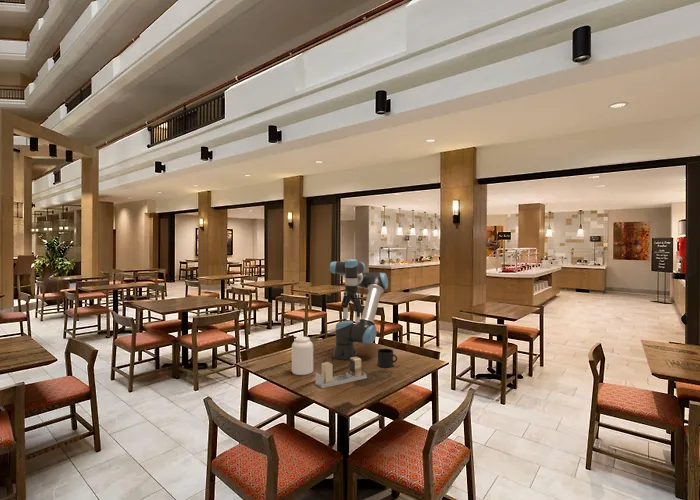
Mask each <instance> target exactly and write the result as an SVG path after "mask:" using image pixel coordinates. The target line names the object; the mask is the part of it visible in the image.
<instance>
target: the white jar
mask: <svg viewBox="0 0 700 500" xmlns="http://www.w3.org/2000/svg"><path fill="white" fill-rule="evenodd" d="M291 372H292V374H293V375H297V376H306V375H310V374H312V373H313V372H314V344H313V342H312V341H311V338H310V337H309V336H298V337H296V338H295V339H294V341H293V342H292V344H291Z"/></svg>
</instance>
